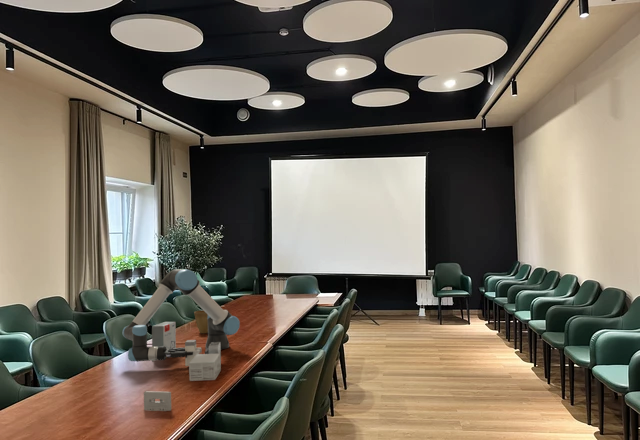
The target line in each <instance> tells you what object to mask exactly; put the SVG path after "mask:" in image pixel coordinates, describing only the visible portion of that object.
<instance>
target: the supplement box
mask: <svg viewBox="0 0 640 440" xmlns="http://www.w3.org/2000/svg"><path fill="white" fill-rule="evenodd" d="M221 363H222V359H221V360H220V353H218V354H205V353H199V354H197V355H196V356H195V357H194V358H193V359H192V360H191V362H190V363H189V366H188V373H189V374H188V375H189V382H195V381H196V382H197V381H216V379H217V377H218V376H219V374H220V372H221V371H222V368H221V367H222V365H221Z"/></svg>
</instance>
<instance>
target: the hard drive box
mask: <svg viewBox="0 0 640 440" xmlns="http://www.w3.org/2000/svg"><path fill="white" fill-rule="evenodd" d="M176 329H177V327H176V321H164V322H160V323H157V324H155V325H152V327H151V347H154V346H158V347H159V346H165V347H166V349H167V350H169V349H171V348H177V343H176V342H177V341H176V336H177V335H176V334H177V333H176Z"/></svg>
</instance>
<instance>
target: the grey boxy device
mask: <svg viewBox="0 0 640 440" xmlns="http://www.w3.org/2000/svg"><path fill="white" fill-rule="evenodd" d="M221 350H222V349H221V346H220V342H211V344H210V345H209V354H218V353H220V360H221V361H222V354H221V353H222V352H221Z"/></svg>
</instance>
